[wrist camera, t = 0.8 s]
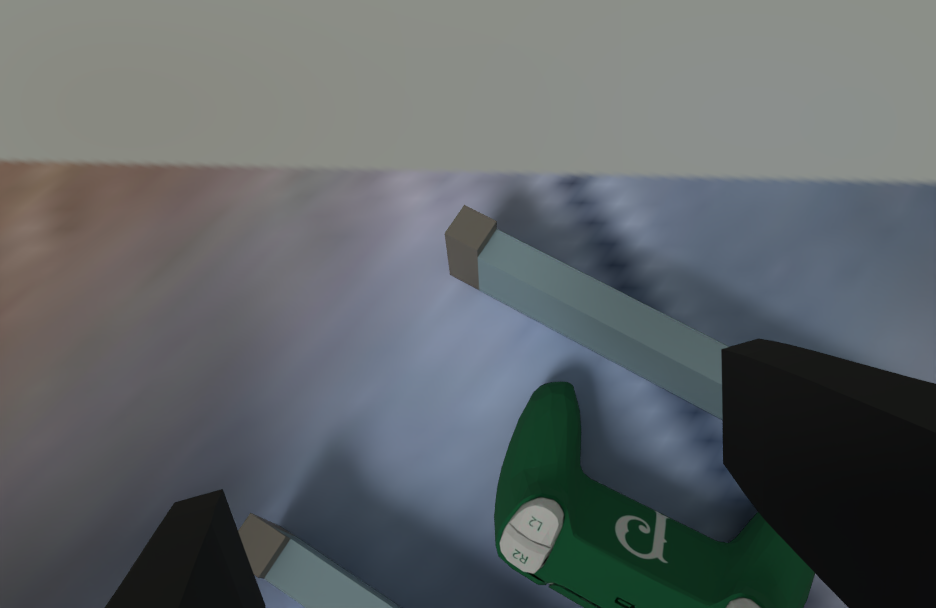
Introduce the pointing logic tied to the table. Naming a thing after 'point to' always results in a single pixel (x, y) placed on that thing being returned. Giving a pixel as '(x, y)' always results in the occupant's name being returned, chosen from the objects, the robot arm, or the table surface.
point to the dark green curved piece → (622, 532)
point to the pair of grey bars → (556, 306)
